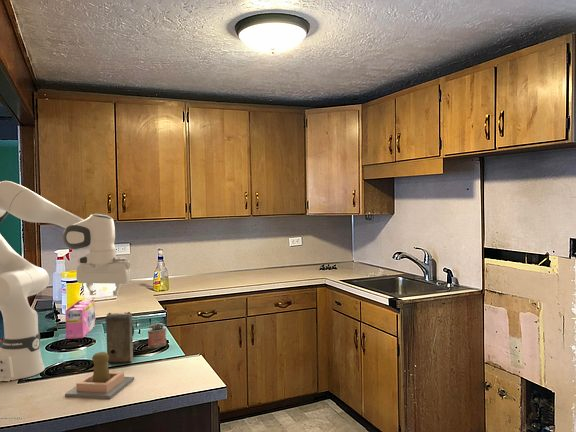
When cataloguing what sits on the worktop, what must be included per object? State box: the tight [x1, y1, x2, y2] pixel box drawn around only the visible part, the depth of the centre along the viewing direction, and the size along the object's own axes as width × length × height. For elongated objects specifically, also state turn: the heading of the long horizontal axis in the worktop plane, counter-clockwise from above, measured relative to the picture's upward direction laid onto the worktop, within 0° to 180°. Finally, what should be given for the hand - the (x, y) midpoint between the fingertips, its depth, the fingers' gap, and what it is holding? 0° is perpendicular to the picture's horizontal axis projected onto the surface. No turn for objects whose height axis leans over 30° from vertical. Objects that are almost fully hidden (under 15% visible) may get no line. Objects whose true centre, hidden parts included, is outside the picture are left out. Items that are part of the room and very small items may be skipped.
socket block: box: [64, 371, 136, 400], centre depth 159 cm, size 16×16×4 cm
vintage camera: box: [105, 311, 141, 364], centre depth 190 cm, size 10×15×20 cm, turn 2°
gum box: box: [64, 299, 96, 340], centre depth 230 cm, size 24×8×14 cm, turn 8°
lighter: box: [147, 322, 167, 350], centre depth 203 cm, size 8×3×10 cm, turn 130°
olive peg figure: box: [91, 351, 110, 383], centre depth 159 cm, size 6×6×11 cm
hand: (104, 295), depth 173 cm, fingers open, 8 cm apart
